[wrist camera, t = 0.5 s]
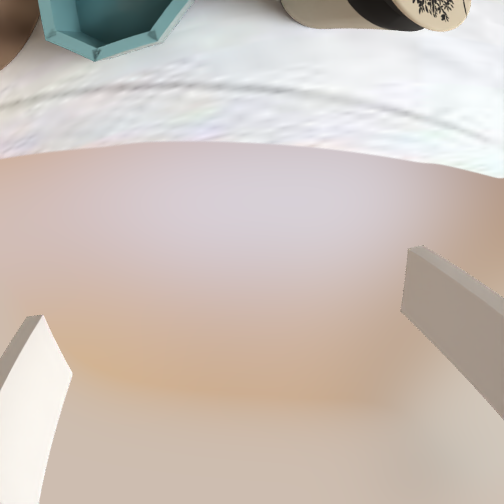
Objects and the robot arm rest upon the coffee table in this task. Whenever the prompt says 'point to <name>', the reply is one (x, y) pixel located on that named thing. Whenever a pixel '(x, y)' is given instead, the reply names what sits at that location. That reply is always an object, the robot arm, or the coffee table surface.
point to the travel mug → (379, 14)
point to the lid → (16, 26)
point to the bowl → (109, 24)
